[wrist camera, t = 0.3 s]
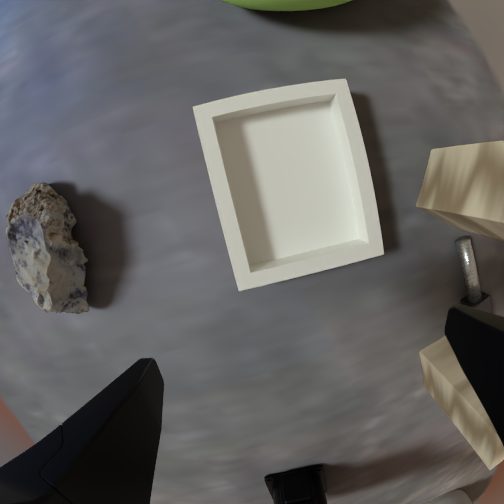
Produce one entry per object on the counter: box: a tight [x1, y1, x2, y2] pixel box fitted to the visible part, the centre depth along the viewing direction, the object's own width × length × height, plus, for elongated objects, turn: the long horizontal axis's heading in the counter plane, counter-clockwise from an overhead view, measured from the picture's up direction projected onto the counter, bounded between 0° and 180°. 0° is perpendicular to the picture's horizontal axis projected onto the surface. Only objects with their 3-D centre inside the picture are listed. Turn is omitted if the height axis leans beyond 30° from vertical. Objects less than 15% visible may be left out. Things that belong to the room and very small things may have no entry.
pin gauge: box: [455, 236, 492, 313], centre depth 22 cm, size 10×2×2 cm, turn 29°
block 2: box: [419, 336, 504, 470], centre depth 18 cm, size 5×5×13 cm
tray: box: [193, 79, 384, 291], centre depth 19 cm, size 12×10×2 cm
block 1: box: [416, 141, 504, 241], centre depth 15 cm, size 5×5×13 cm
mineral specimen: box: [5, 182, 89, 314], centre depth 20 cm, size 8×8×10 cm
